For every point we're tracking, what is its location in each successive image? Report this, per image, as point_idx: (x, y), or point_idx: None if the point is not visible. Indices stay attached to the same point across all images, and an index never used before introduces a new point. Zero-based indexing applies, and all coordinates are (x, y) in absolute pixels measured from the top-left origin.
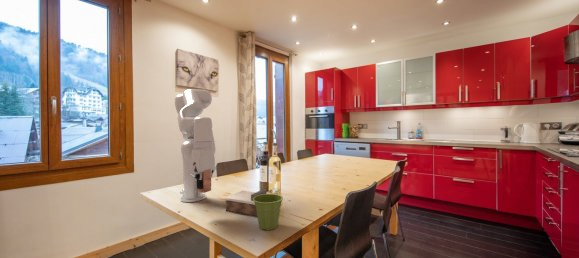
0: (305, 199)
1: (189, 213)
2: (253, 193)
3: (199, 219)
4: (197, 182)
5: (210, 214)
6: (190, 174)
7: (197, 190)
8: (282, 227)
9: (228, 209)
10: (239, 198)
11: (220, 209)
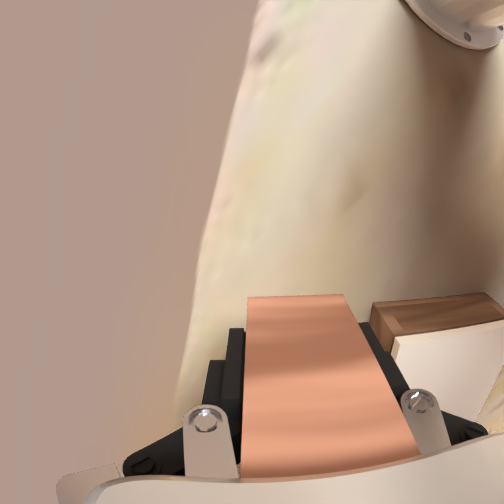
0: (500, 426)
1: (273, 131)
2: (476, 395)
3: (231, 259)
4: (205, 400)
5: (312, 260)
6: (64, 479)
7: (247, 304)
8: None
9: (374, 325)
10: None
11: (391, 256)
